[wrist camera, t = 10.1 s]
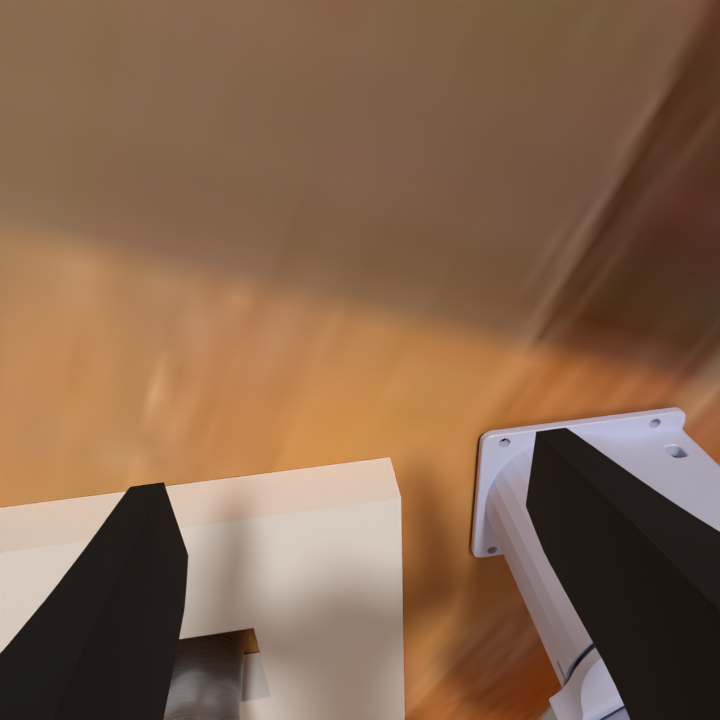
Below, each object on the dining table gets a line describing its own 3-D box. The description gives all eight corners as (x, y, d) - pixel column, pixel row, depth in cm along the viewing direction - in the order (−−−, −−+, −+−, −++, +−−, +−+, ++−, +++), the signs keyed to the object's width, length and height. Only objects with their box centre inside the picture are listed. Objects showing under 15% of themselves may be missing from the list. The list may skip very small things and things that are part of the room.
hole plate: (389, 457, 24) (400, 498, 22) (397, 696, 35) (405, 739, 32) (-88, 519, 22) (-126, 569, 20) (71, 751, 33) (57, 800, 31)
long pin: (240, 595, 28) (227, 809, 20) (249, 641, 30) (240, 853, 22) (159, 605, 27) (114, 828, 19) (173, 651, 29) (138, 870, 22)
